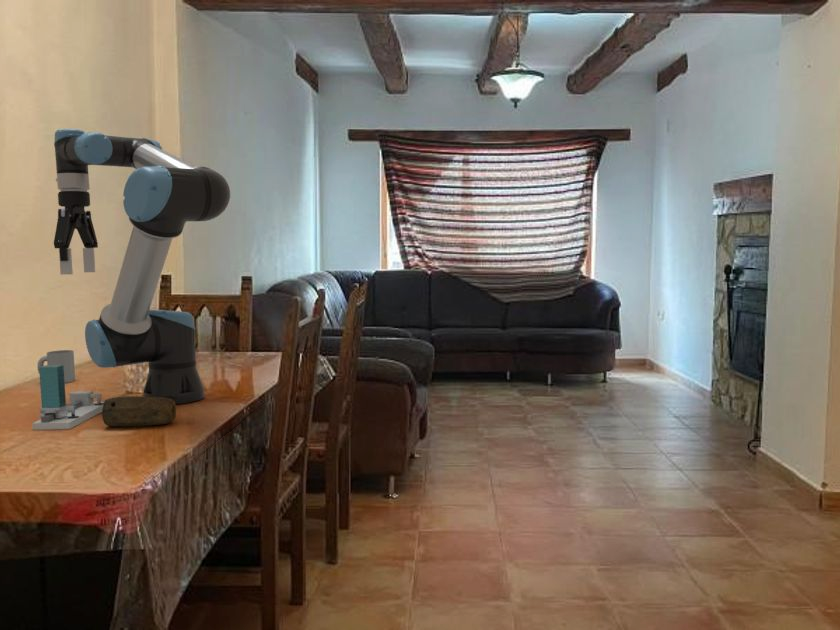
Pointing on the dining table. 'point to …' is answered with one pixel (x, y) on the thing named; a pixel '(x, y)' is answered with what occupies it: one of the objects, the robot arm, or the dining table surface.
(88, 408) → the gauge plate
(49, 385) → the block
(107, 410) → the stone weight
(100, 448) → the dining table surface
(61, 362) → the cup
